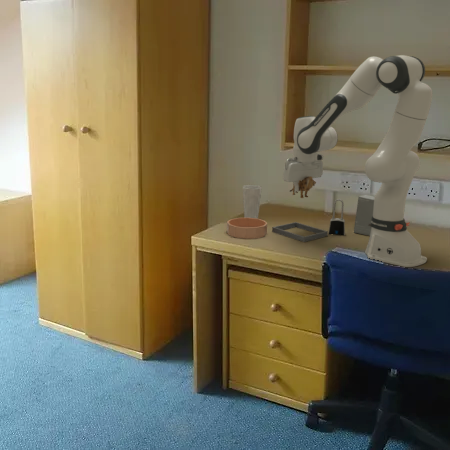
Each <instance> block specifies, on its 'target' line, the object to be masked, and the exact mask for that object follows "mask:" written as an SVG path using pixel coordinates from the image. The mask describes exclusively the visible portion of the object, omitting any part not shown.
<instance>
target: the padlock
mask: <svg viewBox="0 0 450 450" xmlns="http://www.w3.org/2000/svg"><path fill="white" fill-rule="evenodd" d="M339 201H340V202H341V215H340V218H339V217H338V218H337V217H336V218H335V213H336V212H335V211H336V203H337V202H339ZM344 205H345V204H344V201H343V200H342V199H341V198H337V199H335V200H334V202H333V207H332V208H333V210H332V218H330V220H329V227H328V235H331V234H333V235H332V236H346V233H345V232H346V231H345V230H346V228H345V227H346V225H345V224H346V221H345V219H344V207H345V206H344Z"/></svg>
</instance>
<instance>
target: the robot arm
mask: <svg viewBox="0 0 450 450" xmlns="http://www.w3.org/2000/svg"><path fill="white" fill-rule="evenodd" d="M425 75H426V66H425V63H424V62H423V61H422V60H421V59H420V58H418V57H416V56H413V55H412V56H411V55H410V56H408V55H405V54H401V55H400V54H398V55H390V56H388V57H386V58H384V59H383V58H382V57H379V56H376V55H375V56H369V57H367V59H365V60H364V61H362V63H361V64H360V65H359V66H358V67H357V68H356V69H355V71H354V72H353V73H352V74H351V76H350V77H349V78H348V80H347V81H346V82H345V83H344V85H343V86H342V88H340V90H339V91H338V92H337V93H336V94H335V95H334V96H333V97H332V98H331V100H329V101H328V103H327V104H326V105H325V106H324V107H323V108H322V109H321V111H319V112H318V114H317V115H316V116H314V115H308V116H305V115H304V116H300V117H298V118H296V120H295V123H294V128H293V142H294V143H293V148H292V158H291V157H290V158H289V157H288V158H287V160H286V161H285V162H284V167H283V172H282V180H283V181H284V182H287V183H292V185H293V184H294V186H295V191H297V192H300V187H299V185H298V183H299V180H301V181H302V180H303V179H304V178H306V177H309V176H311V177H312V179H317V178H318V179H319V178H321V177H322V176H323V173H324V162H323V160H324V154H320V153H318V152H324V151H325V152H326V151H330V150H332V149H334V148H335V147H336V145H337V143H338V141H339V136H338V132H337V129H335V128H334V127H333V126H332V125H333V124H334V123H336V121H337V120H338V119H339V118H340V117H342V116H345V114H349V113H351V112H354V111H357V110H360V109H362V108H364V107H365V106H366V105H368V103H370V102H371V101H372V100H373V98H375V96H376V94H377V93H378V92H379V90H380V89H381V88H382V87H384V88H386V89H388V90H389V91H390V92H391V93H392V94H397V95H398V100H397V104H396V106H395V109H394V113H393V115H392V119H391V121H390V124H389V127H388V130H387V132H386V134H385V135H384V137H383V139H382V141H380V143H379V146H378V147H377V148H376V150H375V151H374V152H373V154H372V155H371V156H370V157H368V158H367V160H366V161H365V165H364V172H365V175H366V176H367V179H368V180H370V181H371V182H374V183H381V184H380V187H379V189H378V190H377V191H376V193H375V194H374V196H375V197H374V208H373V216H372V218H371V233H370V236H369V238H368V243H367V245H366V249H365V251H364V253H365V255H366V257H368V258H367V259H369V258H370V259H369V260H373V259H375V260H374V261H377V260H379V261H378V262H381V261H382V262H383V263H386V264H391V265H395V266H399V267H404V268H412V267H417V266H421V265H424V264H425V263H427V261H428V258H427V256H424V255H422V249H421V244H420V242H419V241H418V240H417V239H416V238H415V237H414V236H413V235H412V234H411V232H409V230H408V226H410V222H409V221H408V222H406V220H405V218H404V216H405V208H406V203H407V201H406V200H407V196H408V193H409V191H410V187H411V184H412V182H413V179H414V177H415V175H416V174H417V172H418V171H419V170H420V167H421V160H420V156H419V155H418V153H416V152H414V151H413V150H412V149H413V147H414V146H415V145H416V144H417V143H418V142H419V141H420V138H421V136H422V133H423V131H424V127H425V125H426V122H427V119H428V116H429V113H430V110H431V106H432V100H433V90H432V87H430V85H428V84H427V83H425V82H422V81H423V79H424V78H425Z"/></svg>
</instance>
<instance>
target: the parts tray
mask: <svg viewBox="0 0 450 450" xmlns="http://www.w3.org/2000/svg"><path fill="white" fill-rule="evenodd" d="M271 227H272V226H271ZM293 228H297V229H301V230H304V231H307V232H311V233H313V234H310V235H305V236H304V235H300V234H297V233H293V232H290V231H287V230H288V229H293ZM271 232H273V233H275V234H278V235H282V236H283V237H288V238H290V239H294V240H297V241H299V242H303V243H305V242H310V241H313V240H318V239H321V238H326V237H328V235H329V234H328V233H329V230H324V229H320V228H317V227H315V226H310V225H307V224H305V223H304V224H303V223H300V222H297V221H294V222H290V223H285V224H280V225H276V226H273V227H272V228H271ZM325 236H326V237H325Z"/></svg>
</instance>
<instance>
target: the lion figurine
mask: <svg viewBox="0 0 450 450" xmlns="http://www.w3.org/2000/svg"><path fill="white" fill-rule="evenodd" d="M316 183H317V182H316V181H315V180H314V178H312V177H311V176H309V177H306V178H304V179H303V180H299V183H298V185H299V187H300V191H295V186H294V184H293V183H292V186H293V187H292V189H290V190H289V192H290V193H291V192H292V196H295V195H296V194H298V193H299V192H300V199H304V198H309V195H308V192H310V190H311V189H312V188H313V187H315V185H316Z"/></svg>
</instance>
